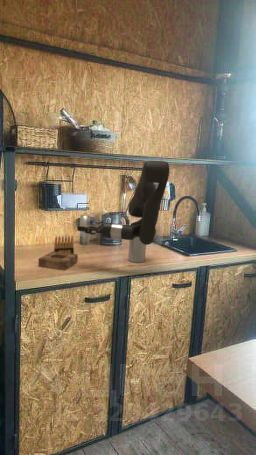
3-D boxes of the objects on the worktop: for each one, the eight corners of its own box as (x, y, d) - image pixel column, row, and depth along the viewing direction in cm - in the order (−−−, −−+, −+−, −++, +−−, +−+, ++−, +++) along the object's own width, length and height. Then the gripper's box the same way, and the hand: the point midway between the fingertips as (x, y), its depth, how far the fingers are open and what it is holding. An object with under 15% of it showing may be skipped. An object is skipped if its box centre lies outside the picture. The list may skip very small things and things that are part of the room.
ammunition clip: (72, 256, 202) (73, 234, 200) (73, 256, 201) (74, 235, 198) (53, 257, 198) (54, 235, 195) (54, 258, 196) (54, 235, 194)
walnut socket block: (52, 258, 194) (52, 251, 193) (77, 261, 191) (77, 254, 191) (38, 266, 179) (38, 258, 178) (65, 270, 176) (65, 262, 175)
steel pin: (81, 242, 183) (82, 214, 181) (90, 243, 182) (91, 215, 180) (78, 244, 179) (79, 216, 176) (87, 245, 178) (88, 216, 175)
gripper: (117, 220, 182) (84, 217, 186) (109, 225, 168) (74, 222, 172) (116, 235, 184) (84, 232, 187) (109, 241, 170) (73, 237, 173)
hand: (79, 227), depth 179 cm, fingers closed on steel pin, 4 cm apart
